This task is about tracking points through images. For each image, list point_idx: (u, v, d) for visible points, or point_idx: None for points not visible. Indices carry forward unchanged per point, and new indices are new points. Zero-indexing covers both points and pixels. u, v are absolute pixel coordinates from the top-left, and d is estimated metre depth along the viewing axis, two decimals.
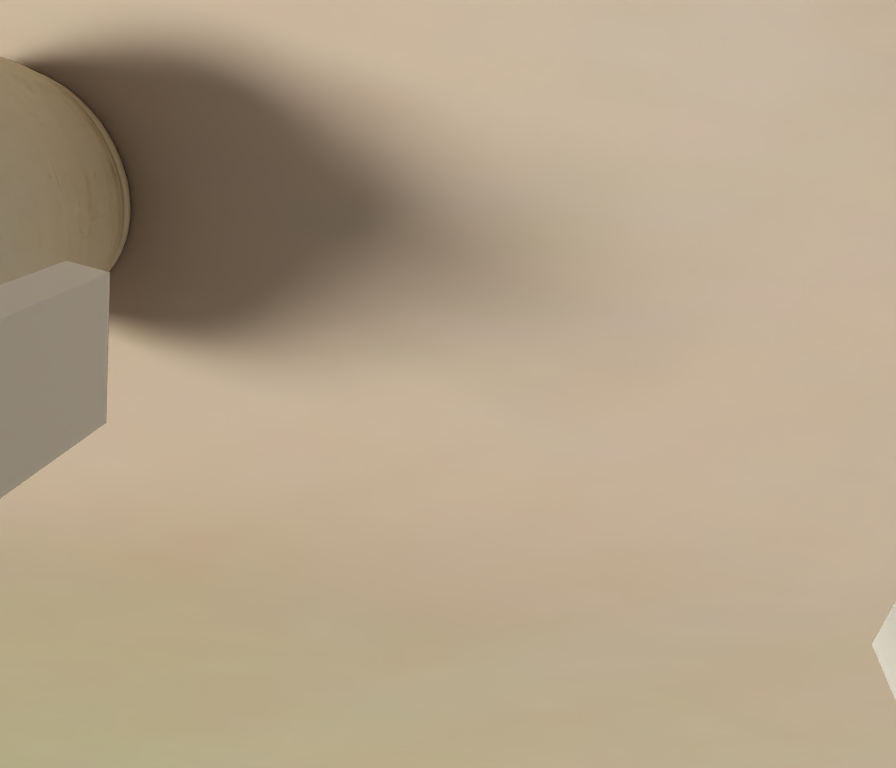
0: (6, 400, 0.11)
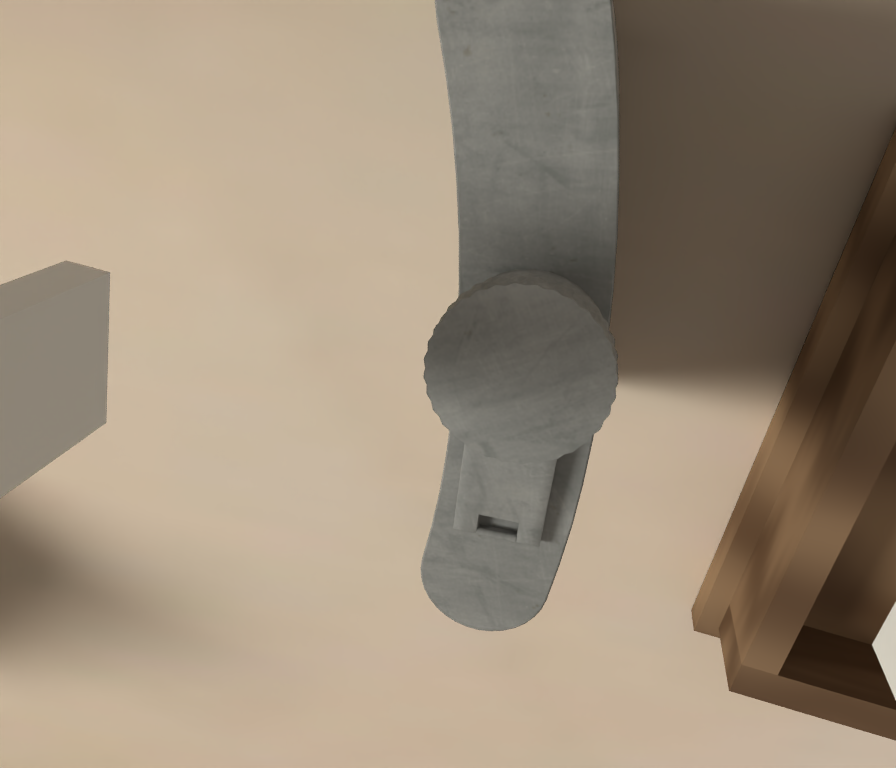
0: (6, 400, 0.11)
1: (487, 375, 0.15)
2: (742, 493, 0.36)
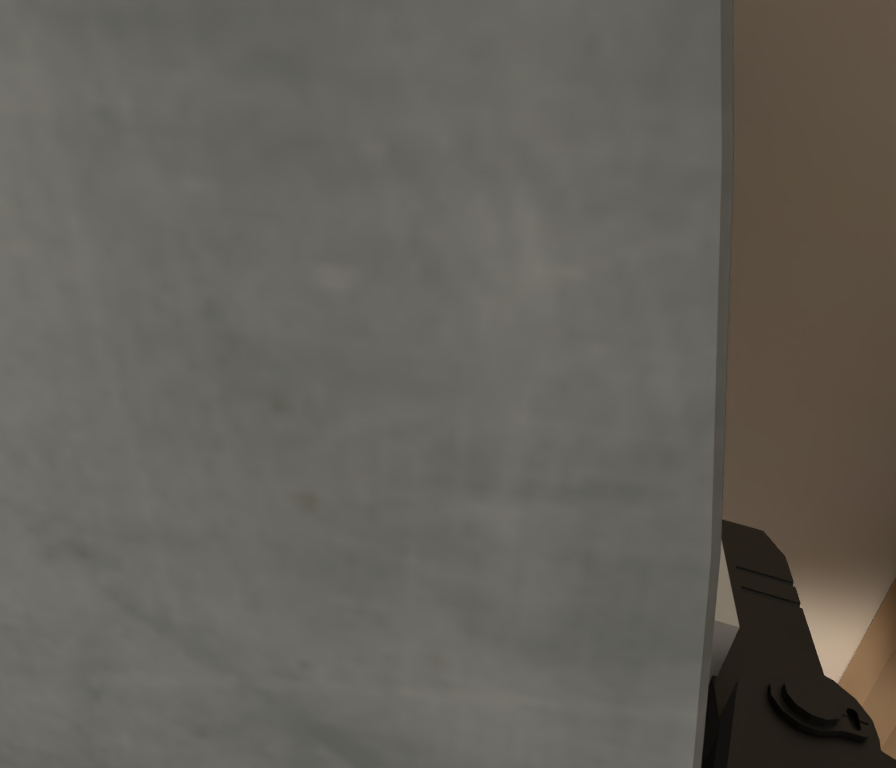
0: None
1: None
2: None
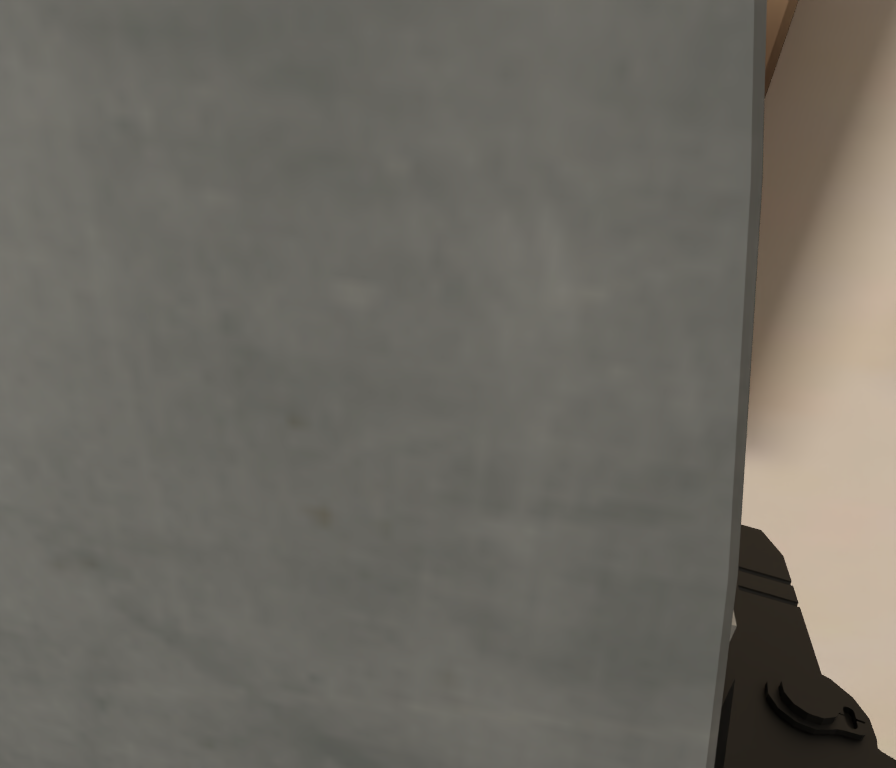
0: None
1: None
2: None
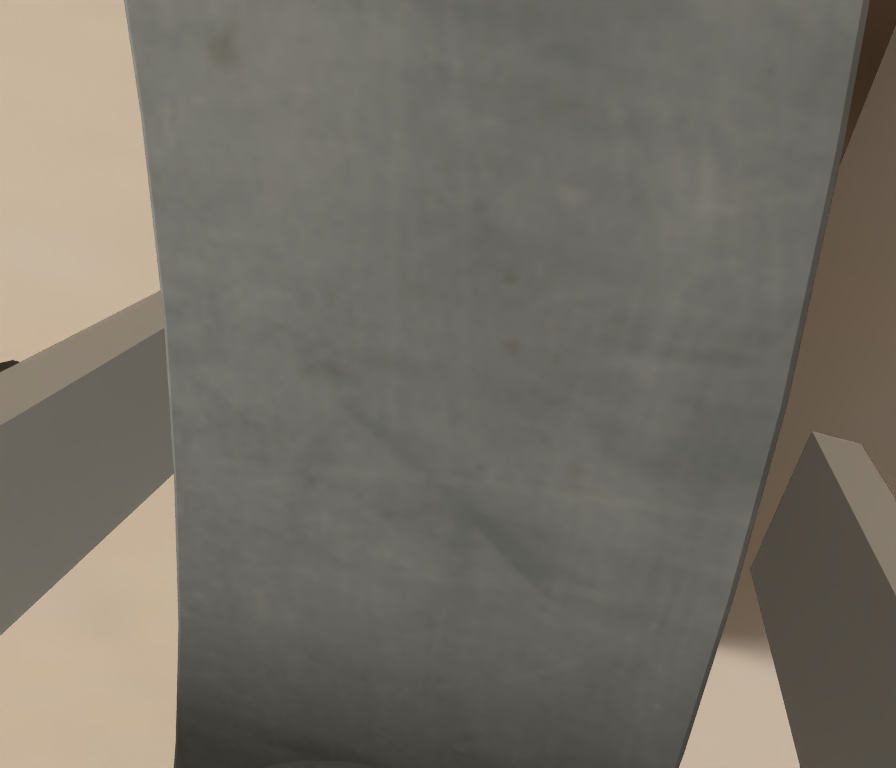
0: (166, 399, 0.12)
1: None
2: None
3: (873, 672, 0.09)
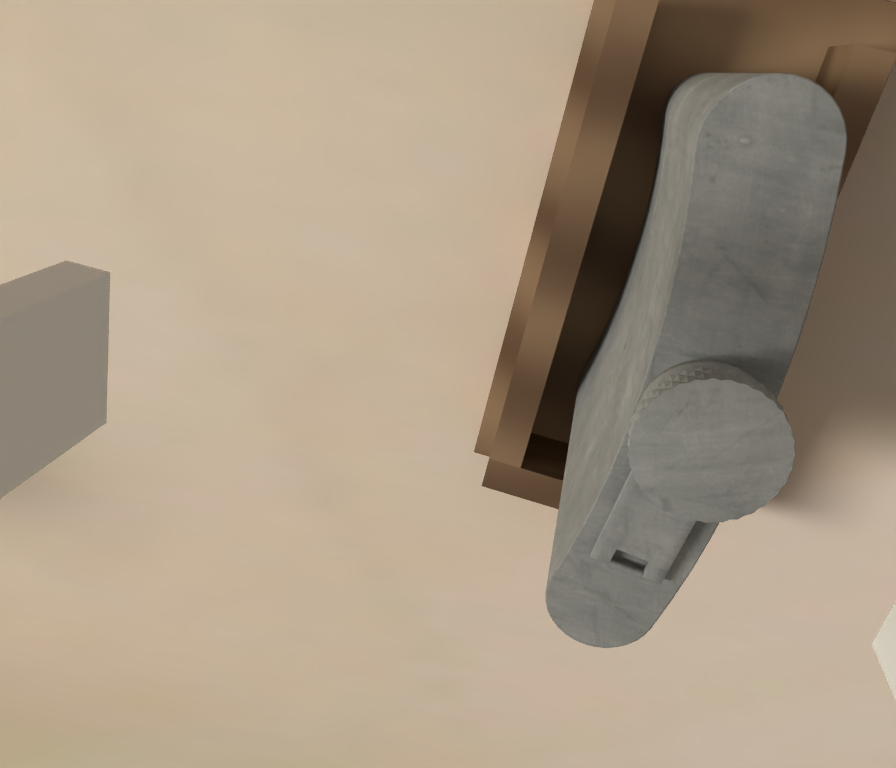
0: (6, 400, 0.11)
1: (685, 447, 0.18)
2: None
3: None
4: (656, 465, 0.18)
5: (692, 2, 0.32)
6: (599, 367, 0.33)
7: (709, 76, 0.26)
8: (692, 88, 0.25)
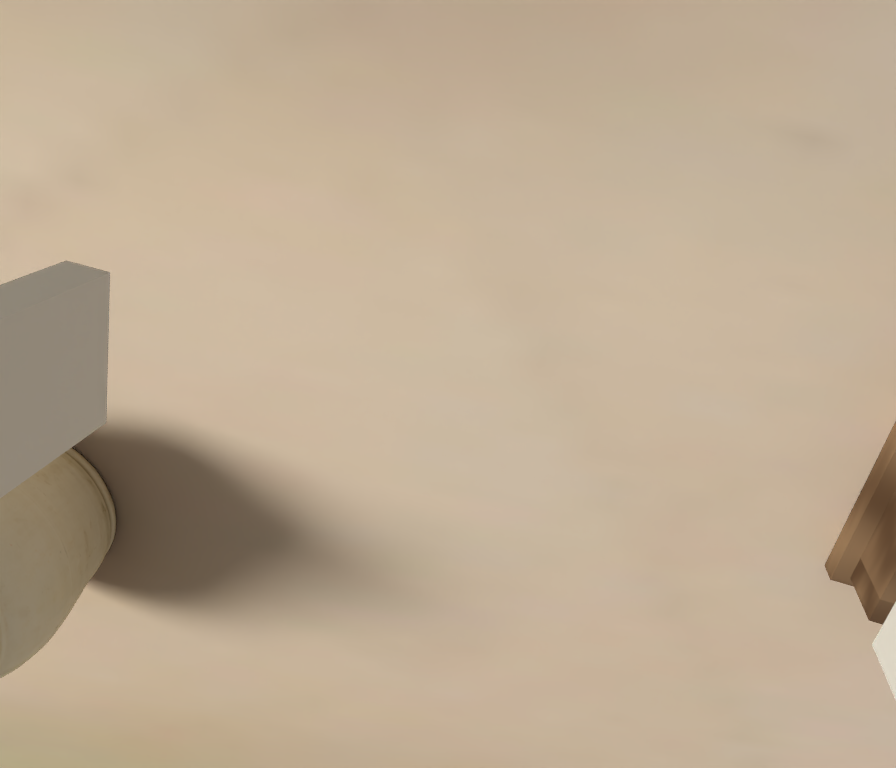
0: (6, 400, 0.11)
1: None
2: (872, 472, 0.47)
3: None
4: None
5: None
6: None
7: None
8: None
